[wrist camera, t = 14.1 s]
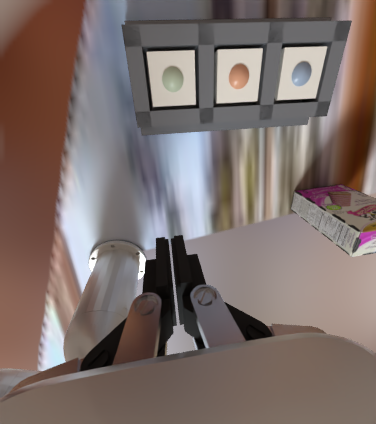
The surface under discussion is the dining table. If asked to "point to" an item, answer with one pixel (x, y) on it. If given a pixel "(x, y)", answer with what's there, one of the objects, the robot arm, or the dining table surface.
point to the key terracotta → (237, 75)
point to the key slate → (299, 72)
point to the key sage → (172, 77)
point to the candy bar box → (340, 216)
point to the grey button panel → (204, 70)
